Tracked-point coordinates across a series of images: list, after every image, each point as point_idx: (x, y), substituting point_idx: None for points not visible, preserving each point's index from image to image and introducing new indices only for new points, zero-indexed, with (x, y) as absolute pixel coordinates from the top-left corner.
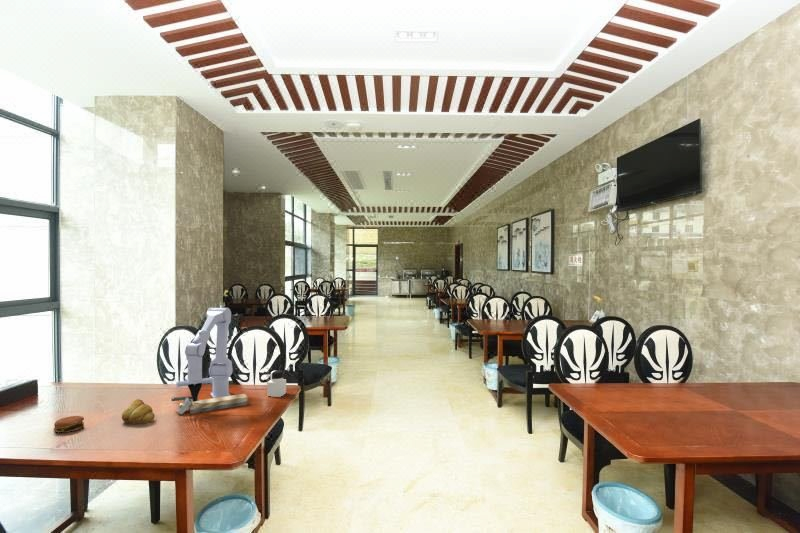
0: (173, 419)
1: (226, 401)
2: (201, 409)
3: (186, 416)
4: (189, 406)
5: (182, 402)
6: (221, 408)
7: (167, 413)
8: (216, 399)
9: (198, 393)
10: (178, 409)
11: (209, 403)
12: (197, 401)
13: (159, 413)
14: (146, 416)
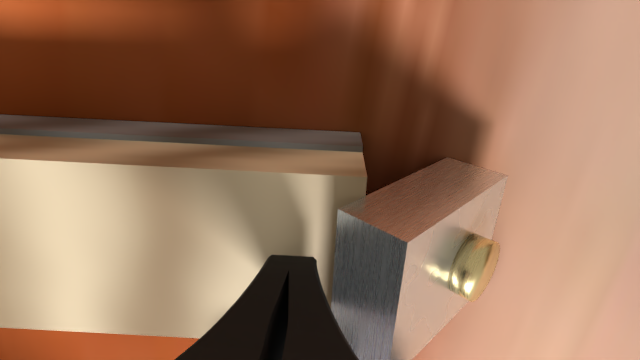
0: (584, 21)
1: None
2: (230, 135)
3: (421, 53)
4: None
5: (434, 332)
6: (6, 115)
7: (549, 276)
8: (8, 258)
9: (210, 329)
10: (488, 224)
11: (102, 157)
12: None
13: (605, 314)
14: None
